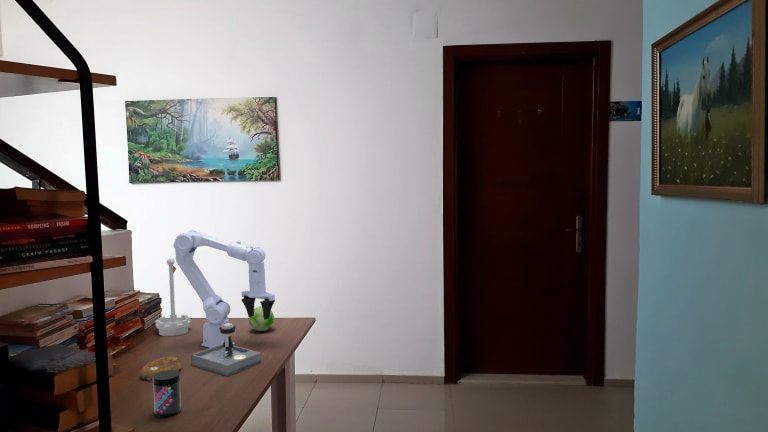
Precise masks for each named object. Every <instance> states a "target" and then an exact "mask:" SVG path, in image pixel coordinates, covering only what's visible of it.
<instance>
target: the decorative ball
mask: <svg viewBox="0 0 768 432" xmlns="http://www.w3.org/2000/svg"><path fill="white" fill-rule="evenodd" d="M248 323H249V325H250V326H251V328H252V329H253V330H254V331H257V332H266V331H267V330H269V329H270V328H271V327H272V325H273V324H274V323H275V315H274V313H273V311H272V310H271V312H270V317H269V319H266V320H264V317H263V309H262V305H259V306H257V307H254V316H252V317H249V316H248Z"/></svg>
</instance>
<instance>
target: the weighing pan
mask: <svg viewBox="0 0 768 432" xmlns="http://www.w3.org/2000/svg"><path fill="white" fill-rule="evenodd" d="M223 349H224V347H223V348H220V349H217V350H215V351H212V352H209V353H206V354H203V355H200V357H203V358H207V359H210V360H213V361H216V362H221V361H224V360H226V359H229V358H232V357H234V356H237V355H240V354H242V353H245V352H241V351H238V350H234V349H233V353H232V352H231V354H230V355H227V356H224V353H223Z"/></svg>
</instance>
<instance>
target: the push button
mask: <svg viewBox="0 0 768 432" xmlns="http://www.w3.org/2000/svg"><path fill="white" fill-rule="evenodd" d="M236 329H237V327H236V325H234V324H233V323H231V322H229V323H225V324H222V326H221V327H220V328H219V330H220V333H222V334H224V335H225V340H224V343H223V347H224V349H223V353H224V356H227V355H230V354H231V352H232V353H233V345H234V344H233V341H232V338H231V337H232V336H231V335H232V334H233V333H235V332H236Z"/></svg>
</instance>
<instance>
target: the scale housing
mask: <svg viewBox="0 0 768 432" xmlns="http://www.w3.org/2000/svg"><path fill="white" fill-rule="evenodd" d="M220 348H223V344H221V345H218V346H215V347H212V348H209V347H208V348H206V349H204V350H201V351H198V352H195V353H192V354H191V355H190V363H191V366H194V367H196V368H199V369H203V370H205V371H208V372H209V371H210V372H212V373H214V374H219V375H222V376H223V377H224V376H225V377H229V376H232V375H235V374H237V373H239V372H243V371H245V370H247V369H250V368H251V367H254V366H257V365H259V364H261V363H262V356H261V354H262V353H261V352H259V351H256V350H251V349H249V348H245V347H241V346H237V345H235V344H233V349H234V350H238V351H241V352H245V353H242V354H240V355H237V356H234V357H232V358H229V359H226V360H224V361H221V362H216V361H213V360H210V359H207V358H203V357H200V355H203V354H206V353H209V352H212V351H215V350H217V349H220Z"/></svg>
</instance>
